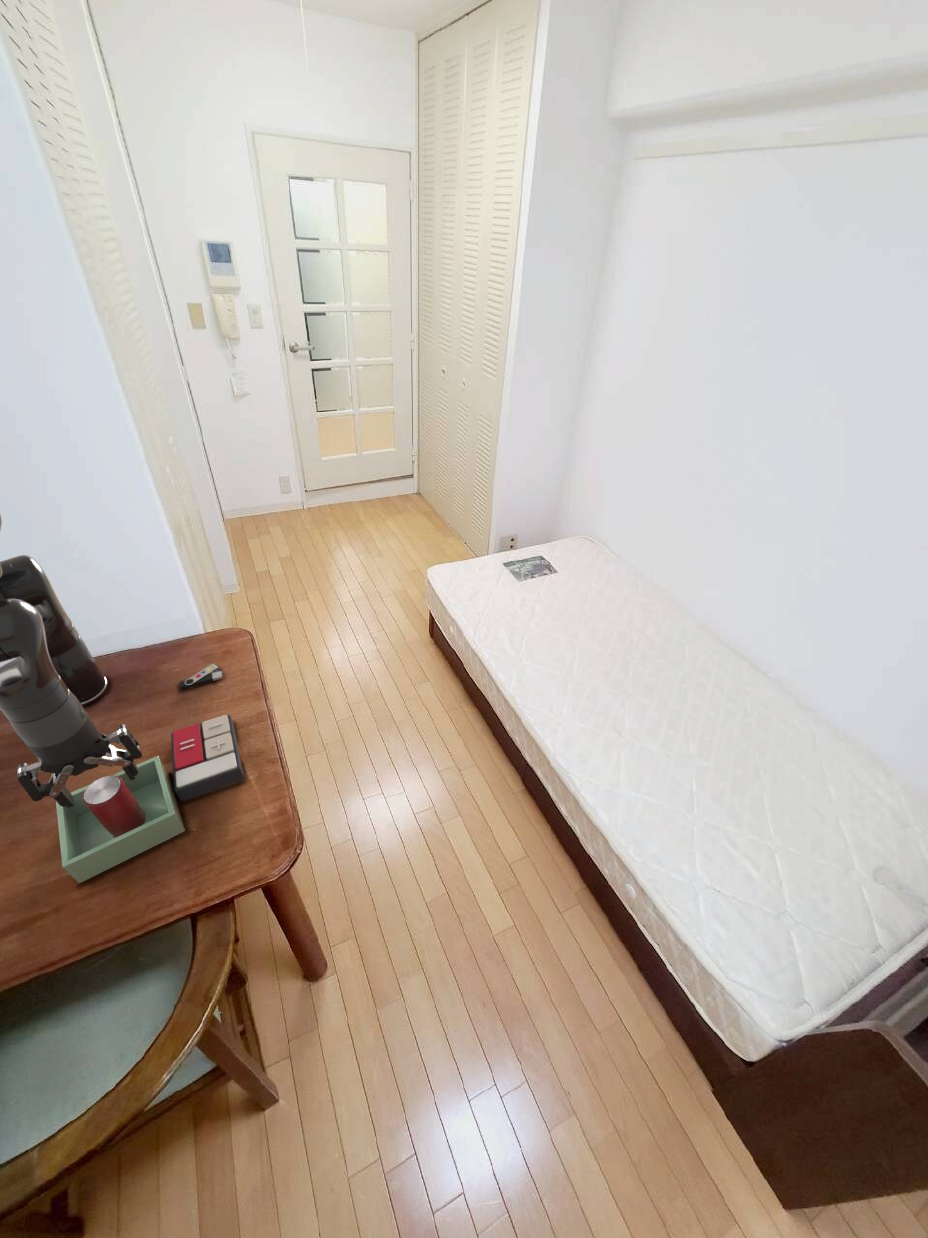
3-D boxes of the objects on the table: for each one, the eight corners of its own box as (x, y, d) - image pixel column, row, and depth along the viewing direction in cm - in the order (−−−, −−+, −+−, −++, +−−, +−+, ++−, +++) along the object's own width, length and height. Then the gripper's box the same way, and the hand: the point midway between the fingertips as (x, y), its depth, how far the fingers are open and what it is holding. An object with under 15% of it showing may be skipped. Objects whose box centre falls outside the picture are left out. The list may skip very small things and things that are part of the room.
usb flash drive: (181, 691, 111) (179, 688, 111) (179, 675, 115) (178, 672, 114) (222, 679, 114) (221, 676, 114) (220, 664, 118) (219, 661, 117)
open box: (71, 817, 88) (55, 799, 84) (169, 774, 96) (158, 755, 92) (80, 885, 80) (62, 867, 76) (186, 832, 87) (174, 814, 83)
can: (106, 819, 88) (79, 785, 81) (142, 802, 90) (119, 768, 84) (111, 845, 84) (83, 812, 78) (148, 827, 87) (124, 794, 80)
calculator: (229, 711, 103) (239, 766, 92) (234, 725, 106) (244, 780, 95) (169, 729, 99) (172, 789, 88) (176, 743, 102) (180, 803, 91)
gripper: (108, 686, 76) (147, 752, 86) (-10, 728, 69) (47, 794, 79) (116, 719, 71) (156, 784, 81) (-11, 767, 65) (50, 831, 75)
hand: (102, 789), depth 80 cm, fingers open, 8 cm apart
